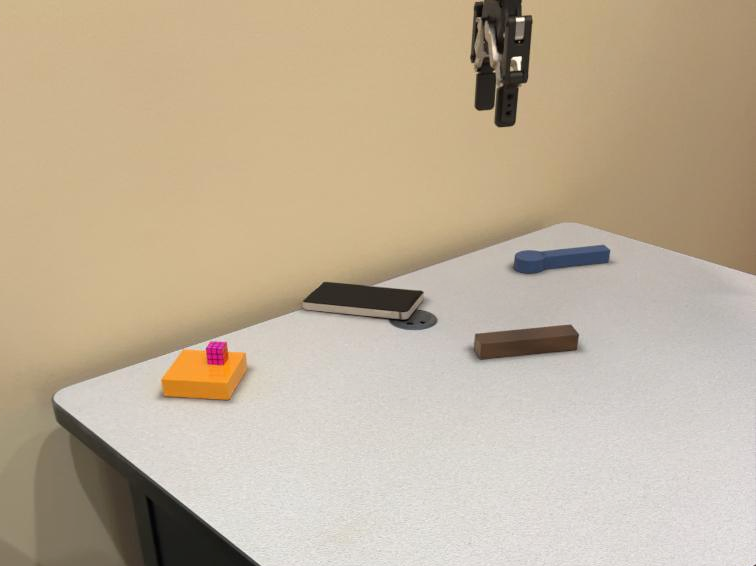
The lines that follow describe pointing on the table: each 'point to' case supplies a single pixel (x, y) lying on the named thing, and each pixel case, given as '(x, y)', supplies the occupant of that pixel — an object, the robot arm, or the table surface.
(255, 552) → the table surface
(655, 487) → the table surface
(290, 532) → the table surface
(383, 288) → the smartphone
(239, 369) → the orange square platform
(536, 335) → the walnut bar
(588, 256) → the spoon
